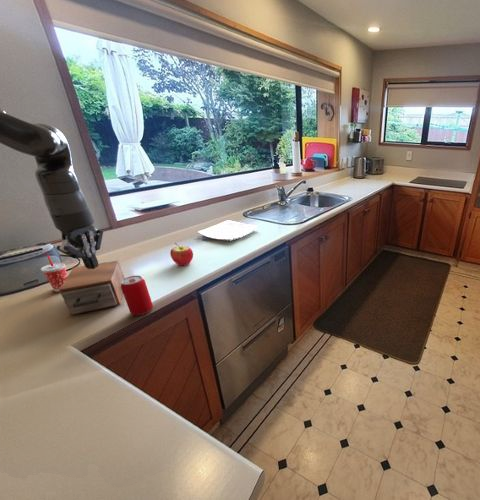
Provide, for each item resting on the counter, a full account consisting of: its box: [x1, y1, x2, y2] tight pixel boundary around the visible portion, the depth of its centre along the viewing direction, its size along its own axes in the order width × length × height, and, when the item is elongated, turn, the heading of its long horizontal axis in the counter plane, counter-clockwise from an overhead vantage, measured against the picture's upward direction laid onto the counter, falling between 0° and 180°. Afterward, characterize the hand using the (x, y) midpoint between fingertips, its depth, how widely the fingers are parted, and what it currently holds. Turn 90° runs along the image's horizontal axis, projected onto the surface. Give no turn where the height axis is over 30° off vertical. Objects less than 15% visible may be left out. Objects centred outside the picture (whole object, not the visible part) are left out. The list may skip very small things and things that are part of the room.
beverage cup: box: [40, 253, 69, 293], centre depth 99 cm, size 6×6×14 cm
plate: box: [197, 219, 259, 242], centre depth 155 cm, size 24×24×3 cm
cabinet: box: [59, 260, 126, 316], centre depth 96 cm, size 16×13×10 cm
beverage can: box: [121, 275, 154, 316], centre depth 90 cm, size 6×6×12 cm
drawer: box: [61, 283, 118, 315], centre depth 93 cm, size 19×11×8 cm, turn 30°
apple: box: [169, 242, 194, 266], centre depth 121 cm, size 8×8×10 cm
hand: (93, 267), depth 79 cm, fingers closed
